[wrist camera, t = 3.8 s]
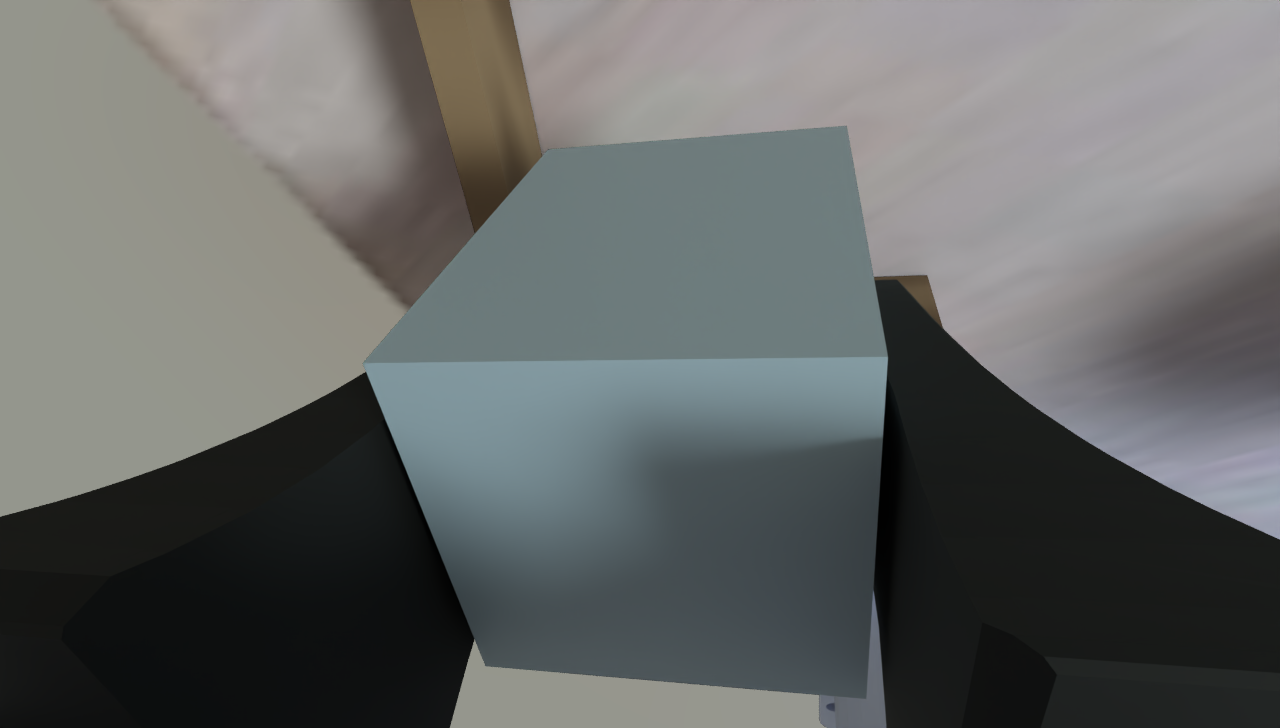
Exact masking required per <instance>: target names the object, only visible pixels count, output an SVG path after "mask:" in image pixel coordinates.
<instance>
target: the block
mask: <svg viewBox="0 0 1280 728" xmlns="http://www.w3.org/2000/svg"><path fill="white" fill-rule="evenodd" d="M887 364H888V354H887V349H886V343H885V337H884V332H883V326H882V321H881V315H880V309H879V304H878V298H877V293H876V287H875V281H874V276H873V270H872V265H871V259H870V253H869V248H868V242H867V237H866V231H865V225H864V220H863V214H862V209H861V203H860V197H859V192H858V186H857V181H856V175H855V169H854V164H853V158H852V153H851V147H850V141H849V136H848V130H847V126H838V127H825V128H813V129H800V130H787V131H775V132H762V133H749V134H737V135H724V136H712V137H699V138H686V139H674V140H661V141H648V142H636V143H623V144H610V145H598V146H585V147H572V148H560V149H548V150H547V151H546V153H545V154H544V155H543V156H542V157H541V158H540V159H539V161H538V162H537V163H536V164H535V165H534V166H533V168H532V169H531V170H530V171H529V172H528V173H527V174H526V176H525V177H524V178H523V179H522V180H521V181H520V183H519V184H518V185H517V186H516V187H515V188H514V189H513V191H512V192H511V193H510V194H509V195H508V196H507V197H506V199H505V200H504V201H503V202H502V203H501V204H500V206H499V207H498V208H497V209H496V210H495V211H494V212H493V214H492V215H491V216H490V217H489V218H488V219H487V221H486V222H485V223H484V224H483V225H482V226H481V227H480V229H479V230H478V231H477V232H476V233H475V234H474V235H473V237H472V238H471V239H470V240H469V241H468V242H467V244H466V245H465V246H464V247H463V248H462V249H461V250H460V252H459V253H458V254H457V255H456V256H455V257H454V259H453V260H452V261H451V262H450V263H449V264H448V265H447V267H446V268H445V269H444V270H443V271H442V272H441V273H440V275H439V276H438V277H437V278H436V279H435V280H434V282H433V283H432V284H431V285H430V286H429V287H428V288H427V290H426V291H425V292H424V293H423V294H422V295H421V297H420V298H419V299H418V300H417V301H416V302H415V303H414V305H413V306H412V307H411V308H410V309H409V310H408V311H407V313H406V314H405V315H404V316H403V317H402V318H401V320H400V321H399V322H398V323H397V324H396V325H395V327H394V328H393V329H392V330H391V331H390V332H389V333H388V335H387V336H386V337H385V338H384V339H383V340H382V341H381V343H380V344H379V345H378V346H377V348H376V349H374V351H373V352H372V353H371V354H370V355H369V356H368V358H367V359H366V360H365V361H364V362H363V365H364V368H365V370H366V373H367V375H368V378H369V380H370V383H371V385H372V387H373V390H374V392H375V395H376V397H377V400H378V402H379V405H380V407H381V410H382V412H383V415H384V417H385V420H386V422H387V424H388V427H389V429H390V432H391V434H392V437H393V439H394V442H395V444H396V447H397V449H398V452H399V454H400V456H401V459H402V461H403V464H404V466H405V469H406V471H407V474H408V476H409V479H410V481H411V484H412V486H413V489H414V491H415V493H416V496H417V498H418V501H419V503H420V506H421V508H422V511H423V513H424V516H425V518H426V521H427V523H428V525H429V528H430V530H431V533H432V535H433V538H434V540H435V543H436V545H437V548H438V550H439V553H440V555H441V558H442V560H443V562H444V565H445V567H446V570H447V572H448V575H449V577H450V580H451V582H452V585H453V587H454V590H455V592H456V594H457V597H458V599H459V602H460V604H461V607H462V609H463V612H464V614H465V617H466V619H467V622H468V624H469V626H470V629H471V631H472V634H473V636H474V639H475V641H476V644H477V646H478V649H479V651H480V654H481V656H482V659H483V661H484V663H485V666H491V667H502V668H513V669H525V670H537V671H548V672H560V673H571V674H583V675H595V676H606V677H619V678H629V679H641V680H652V681H653V680H654V681H664V682H676V683H688V684H700V685H710V686H723V687H733V688H745V689H757V690H768V691H781V692H793V693H803V694H815V695H826V696H838V697H849V698H861V699H866V696H867V680H868V664H869V649H870V633H871V617H872V601H873V585H874V570H875V554H876V538H877V522H878V506H879V491H880V475H881V459H882V443H883V427H884V412H885V396H886V380H887Z"/></svg>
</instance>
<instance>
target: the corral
mask: <svg viewBox="0 0 1280 728" xmlns="http://www.w3.org/2000/svg"><path fill="white" fill-rule="evenodd" d="M410 2H411V6H412V9H413V13H414V16H415V20H416V24H417V27H418V31H419V34H420V38H421V42H422V45H423V49H424V52H425V56H426V60H427V63H428V67H429V70H430V74H431V77H432V81H433V85H434V88H435V92H436V95H437V99H438V103H439V106H440V110H441V113H442V117H443V121H444V124H445V128H446V131H447V135H448V138H449V142H450V146H451V149H452V153H453V156H454V160H455V164H456V167H457V171H458V174H459V178H460V182H461V185H462V189H463V192H464V196H465V199H466V203H467V207H468V210H469V214H470V217H471V221H472V225H473V228H474V232H475V233H476V232H477V231H478V230H479V229H480V227H481V226H482V225H483V224H484V223H485V222H486V221H487V219H488V218H489V217H490V216H491V215H492V214H493V212H494V211H495V210H496V209H497V208H498V207H499V206H500V204H501V203H502V202H503V201H504V200H505V199H506V197H507V196H508V195H509V194H510V193H511V192H512V191H513V189H514V188H515V187H516V186H517V185H518V184H519V183H520V181H521V180H522V179H523V178H524V177H525V176H526V174H527V173H528V172H529V171H530V170H531V169H532V168H533V166H534V165H535V164H536V163H537V162H538V161H539V159H540V158H541V157H542V154H541V149H540V145H539V140H538V135H537V130H536V126H535V121H534V116H533V111H532V107H531V102H530V97H529V92H528V88H527V83H526V78H525V73H524V69H523V64H522V59H521V54H520V50H519V45H518V40H517V35H516V31H515V26H514V21H513V16H512V12H511V7H510V2H509V0H410ZM893 279H897V280H898V281H899V282H900V283H901V284H902V285H903V286H904V287H905V288H906V289H907V290H908V291H909V292H910V293H911V295H912V296H913V297H914V298H915V299H916V300H917V301H918V302H919V303H920V305H921V306H922V307H923V308H924V309H925V310H926V311H927V312H928V313H929V314H930V315H931V316H932V317H933V319H934V320H935V321H936V322H937V323H938V324H939V325H940V326H941V327H942V323H941V320H940V317H939V313H938V310H937V307H936V303H935V300H934V297H933V293H932V290H931V287H930V283H929V280H928V277H927V275H925V276H896V277H874V280H893ZM942 328H943V327H942Z"/></svg>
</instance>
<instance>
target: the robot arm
mask: <svg viewBox="0 0 1280 728" xmlns="http://www.w3.org/2000/svg"><path fill="white" fill-rule="evenodd" d="M874 281H875V287H876V293H877V298H878V304H879V309H880V315H881V321H882V326H883V332H884V337H885V343H886V349H887V354H888V364H887V380H886V396H885V412H884V427H883V443H882V459H881V475H880V491H879V506H878V522H877V538H876V554H875V570H874V585H873V601H872V617H871V633H870V649H869V664H868V680H867V696H866V699H861V698H849V697H838V696H826V695H819V720H820V723H821V724H822V725H823V726H825V727H827V728H1280V540H1279V539H1277V538H1275V537H1273V536H1270V535H1268V534H1266V533H1264V532H1262V531H1259V530H1257V529H1255V528H1253V527H1251V526H1248V525H1246V524H1244V523H1242V522H1240V521H1237V520H1235V519H1233V518H1231V517H1229V516H1226V515H1224V514H1222V513H1220V512H1217V511H1215V510H1213V509H1211V508H1209V507H1207V506H1205V505H1203V504H1201V503H1199V502H1197V501H1195V500H1193V499H1191V498H1189V497H1187V496H1185V495H1183V494H1181V493H1179V492H1177V491H1174V490H1172V489H1170V488H1169V487H1167V486H1165V485H1163V484H1161V483H1159V482H1157V481H1155V480H1154V479H1152V478H1150V477H1148V476H1146V475H1145V474H1143V473H1141V472H1139V471H1137V470H1135V469H1134V468H1132V467H1130V466H1128V465H1126V464H1125V463H1123V462H1121V461H1119V460H1117V459H1115V458H1114V457H1112V456H1110V455H1108V454H1107V453H1105V452H1103V451H1102V450H1100V449H1098V448H1097V447H1095V446H1093V445H1092V444H1090V443H1088V442H1087V441H1085V440H1083V439H1082V438H1080V437H1079V436H1077V435H1076V434H1074V433H1073V432H1071V431H1070V430H1068V429H1067V428H1065V427H1064V426H1062V425H1061V424H1059V423H1058V422H1056V421H1055V420H1053V419H1052V418H1050V417H1049V416H1047V415H1046V414H1044V413H1043V412H1041V411H1040V410H1038V409H1037V408H1035V407H1034V406H1033V405H1031V404H1030V403H1028V402H1027V401H1026V400H1024V399H1023V398H1022V397H1020V396H1019V395H1018V394H1016V393H1015V392H1014V391H1013V390H1011V389H1010V388H1009V387H1008V386H1006V385H1005V384H1004V383H1003V382H1001V381H1000V380H999V379H998V378H997V377H995V376H994V375H993V374H992V373H990V372H989V371H988V370H987V369H985V368H984V367H983V366H982V365H981V364H980V363H978V362H977V361H976V360H975V359H974V358H973V357H972V356H971V355H970V354H969V353H968V352H967V351H966V350H965V349H964V348H963V347H962V346H960V345H959V344H958V343H957V342H956V341H955V340H954V339H953V338H952V337H951V336H950V335H949V334H948V333H947V332H946V331H945V330H944V329H943V328H942V327H941V326H940V325H939V324H938V323H937V322H936V321H935V320H934V319H933V317H932V316H931V315H930V314H929V313H928V312H927V311H926V310H925V309H924V308H923V307H922V306H921V305H920V303H919V302H918V301H917V300H916V299H915V298H914V297H913V296H912V295H911V293H910V292H909V291H908V290H907V289H906V288H905V287H904V286H903V285H902V284H901V283H900V282H899V281H898V280H897V279H893V280H874ZM473 642H474V636H473V634H472V631H471V629H470V626H469V624H468V622H467V619H466V617H465V614H464V612H463V609H462V607H461V604H460V602H459V599H458V597H457V594H456V592H455V590H454V587H453V585H452V582H451V580H450V577H449V575H448V572H447V570H446V567H445V565H444V562H443V560H442V558H441V555H440V553H439V550H438V548H437V545H436V543H435V540H434V538H433V535H432V533H431V530H430V528H429V525H428V523H427V521H426V518H425V516H424V513H423V511H422V508H421V506H420V503H419V501H418V498H417V496H416V493H415V491H414V489H413V486H412V484H411V481H410V479H409V476H408V474H407V471H406V469H405V466H404V464H403V461H402V459H401V456H400V454H399V452H398V449H397V447H396V444H395V442H394V439H393V437H392V434H391V432H390V429H389V427H388V424H387V422H386V420H385V417H384V415H383V412H382V410H381V407H380V405H379V402H378V400H377V397H376V395H375V392H374V390H373V387H372V385H371V383H370V380H369V378H368V375H367V373H366V372H365V373H363V374H362V375H360V376H358V377H357V378H355V379H353V380H352V381H350V382H348V383H346V384H345V385H343V386H341V387H340V388H338V389H336V390H334V391H333V392H331V393H329V394H327V395H325V396H323V397H321V398H320V399H318V400H316V401H314V402H312V403H310V404H308V405H306V406H304V407H302V408H300V409H298V410H296V411H294V412H292V413H290V414H288V415H286V416H284V417H282V418H279V419H278V420H275V421H274V422H271V423H269V424H267V425H265V426H263V427H260V428H258V429H256V430H254V431H252V432H249V433H247V434H244V435H242V436H239V437H237V438H235V439H232V440H230V441H227V442H225V443H223V444H220V445H218V446H215V447H213V448H210V449H208V450H205V451H203V452H201V453H198V454H196V455H193V456H191V457H188V458H186V459H183V460H181V461H178V462H175V463H173V464H170V465H167V466H164V467H162V468H159V469H156V470H153V471H151V472H148V473H145V474H142V475H139V476H136V477H133V478H131V479H127V480H124V481H121V482H118V483H115V484H112V485H109V486H106V487H103V488H100V489H97V490H93V491H91V492H87V493H84V494H81V495H78V496H74V497H71V498H67V499H64V500H61V501H57V502H54V503H50V504H46V505H42V506H39V507H35V508H31V509H28V510H24V511H20V512H17V513H13V514H9V515H5V516H2V517H0V728H450V725H451V721H452V717H453V714H454V710H455V706H456V703H457V699H458V695H459V692H460V688H461V684H462V680H463V677H464V673H465V670H466V666H467V662H468V659H469V656H470V652H471V649H472V646H473Z"/></svg>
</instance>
